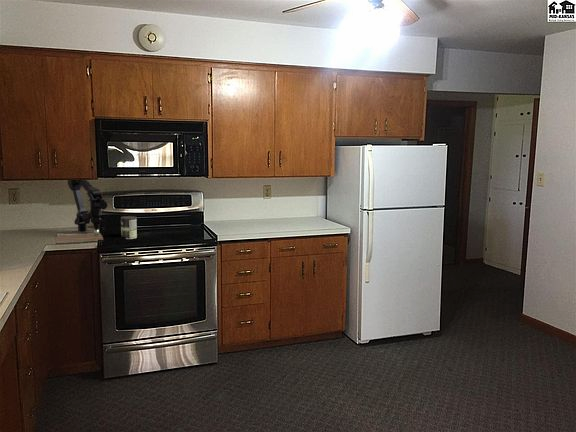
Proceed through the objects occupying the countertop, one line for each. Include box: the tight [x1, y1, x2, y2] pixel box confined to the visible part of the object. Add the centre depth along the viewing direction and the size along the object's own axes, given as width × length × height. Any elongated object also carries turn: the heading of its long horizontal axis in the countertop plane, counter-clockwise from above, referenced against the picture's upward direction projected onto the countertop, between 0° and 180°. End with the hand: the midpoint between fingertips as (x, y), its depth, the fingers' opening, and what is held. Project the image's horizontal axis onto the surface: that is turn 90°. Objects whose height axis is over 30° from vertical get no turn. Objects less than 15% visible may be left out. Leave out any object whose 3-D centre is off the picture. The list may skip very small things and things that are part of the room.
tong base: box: [56, 232, 86, 237], centre depth 330 cm, size 5×20×2 cm, turn 115°
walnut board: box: [55, 233, 104, 245], centre depth 325 cm, size 20×28×2 cm
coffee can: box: [120, 215, 138, 240], centre depth 335 cm, size 10×10×14 cm
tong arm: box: [65, 228, 101, 237], centre depth 331 cm, size 22×3×4 cm, turn 115°
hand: (95, 230), depth 339 cm, fingers closed
